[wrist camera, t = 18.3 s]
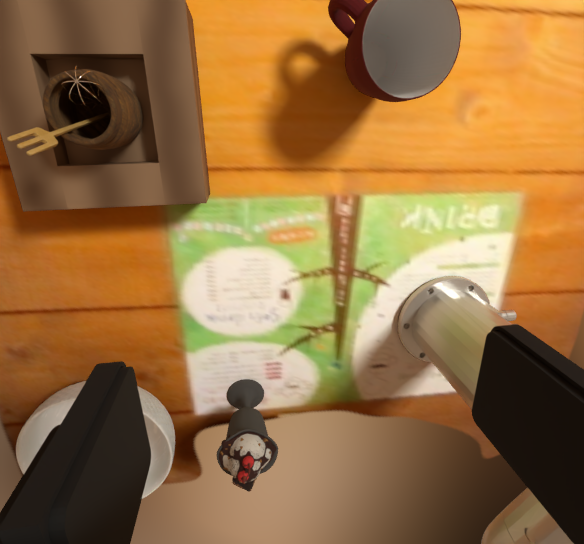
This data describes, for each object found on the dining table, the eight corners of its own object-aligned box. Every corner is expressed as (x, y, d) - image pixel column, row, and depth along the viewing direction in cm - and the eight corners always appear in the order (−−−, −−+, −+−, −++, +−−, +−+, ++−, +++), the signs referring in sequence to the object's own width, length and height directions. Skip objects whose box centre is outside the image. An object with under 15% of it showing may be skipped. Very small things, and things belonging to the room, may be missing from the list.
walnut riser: (192, 18, 34) (184, -1, 29) (210, 193, 40) (206, 202, 35) (4, 15, 32) (-40, -6, 27) (51, 200, 38) (23, 211, 33)
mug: (294, 63, 37) (313, 41, 27) (337, -20, 35) (373, -74, 25) (377, 122, 40) (420, 120, 30) (421, 48, 38) (482, 22, 28)
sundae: (243, 364, 48) (246, 459, 34) (279, 391, 51) (296, 490, 37) (209, 396, 49) (199, 501, 35) (246, 421, 52) (250, 528, 38)
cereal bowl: (19, 380, 45) (-18, 422, 38) (154, 344, 45) (140, 380, 39) (80, 476, 51) (57, 527, 45) (197, 443, 52) (192, 488, 45)
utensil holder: (158, 111, 34) (120, 102, 23) (118, 164, 35) (62, 180, 24) (100, 59, 32) (27, 22, 21) (59, 117, 33) (-32, 111, 22)
